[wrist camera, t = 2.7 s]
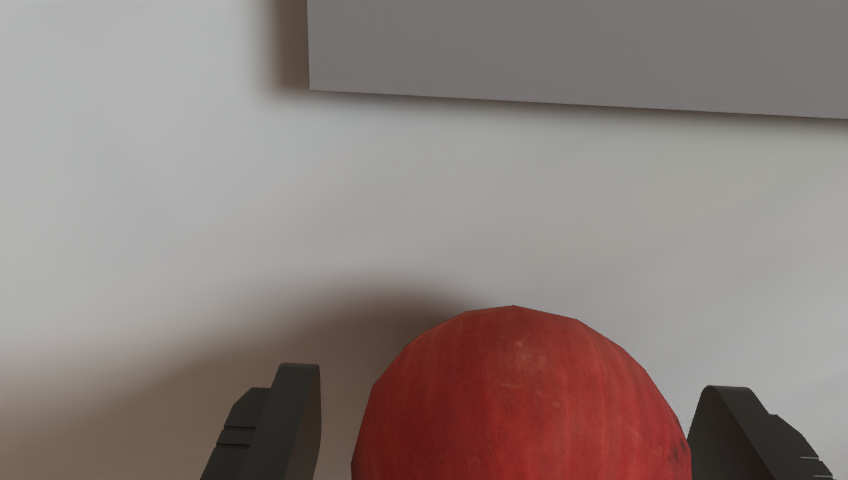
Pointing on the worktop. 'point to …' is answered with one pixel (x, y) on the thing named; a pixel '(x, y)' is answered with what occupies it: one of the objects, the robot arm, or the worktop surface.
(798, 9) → the mat
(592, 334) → the onion
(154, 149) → the worktop surface
